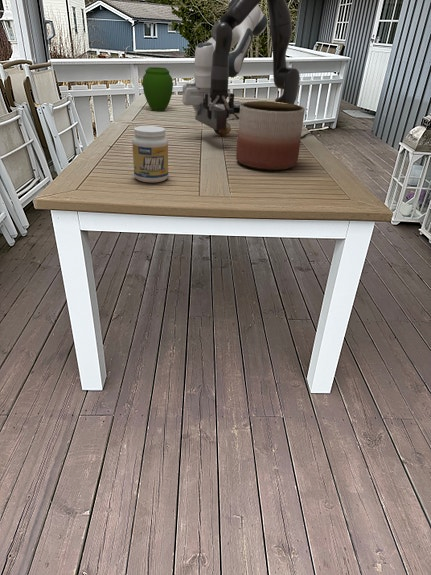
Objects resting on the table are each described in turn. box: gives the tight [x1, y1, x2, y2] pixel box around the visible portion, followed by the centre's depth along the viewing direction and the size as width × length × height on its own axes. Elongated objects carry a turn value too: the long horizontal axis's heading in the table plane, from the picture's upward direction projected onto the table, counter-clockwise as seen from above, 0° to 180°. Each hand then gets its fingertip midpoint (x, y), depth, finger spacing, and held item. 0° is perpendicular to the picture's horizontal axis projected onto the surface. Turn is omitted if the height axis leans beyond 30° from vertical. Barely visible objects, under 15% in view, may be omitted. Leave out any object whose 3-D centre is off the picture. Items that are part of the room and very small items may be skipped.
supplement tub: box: [131, 125, 169, 183], centre depth 142 cm, size 12×12×17 cm
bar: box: [194, 104, 227, 131], centre depth 190 cm, size 26×5×8 cm, turn 24°
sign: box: [227, 100, 244, 114], centre depth 286 cm, size 19×3×30 cm
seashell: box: [213, 120, 232, 136], centre depth 209 cm, size 10×6×8 cm, turn 97°
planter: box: [235, 100, 306, 171], centre depth 164 cm, size 25×25×22 cm
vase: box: [141, 66, 174, 112], centre depth 261 cm, size 20×20×24 cm
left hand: (202, 114), depth 197 cm, fingers closed on bar, 5 cm apart
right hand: (217, 118), depth 183 cm, fingers open, 7 cm apart
